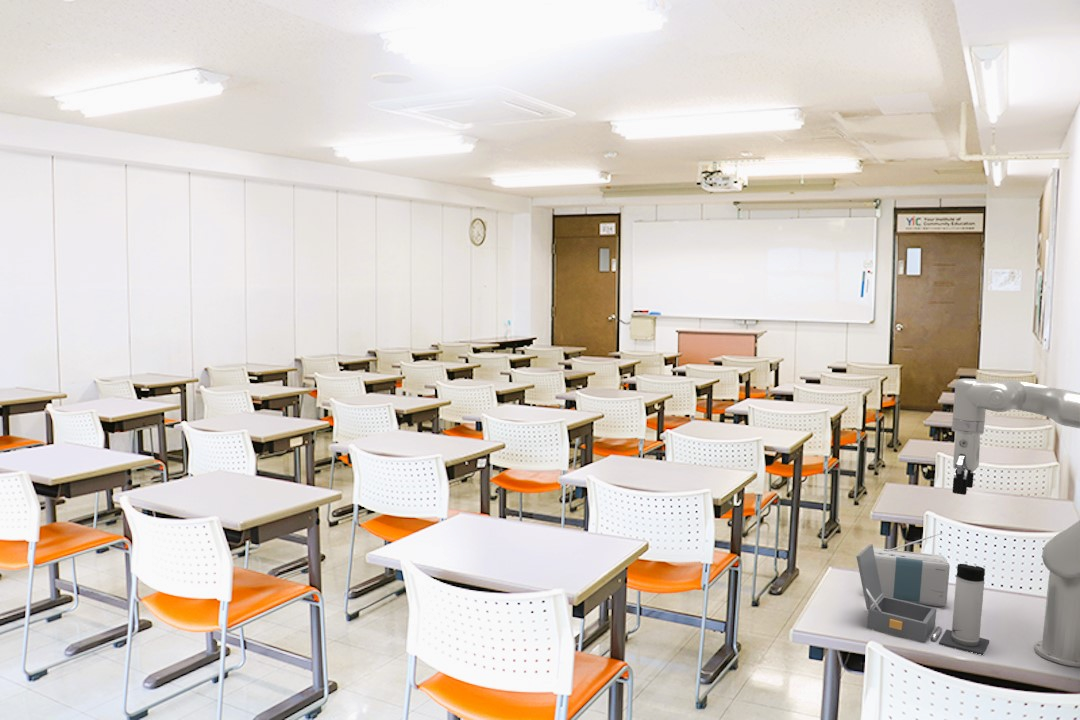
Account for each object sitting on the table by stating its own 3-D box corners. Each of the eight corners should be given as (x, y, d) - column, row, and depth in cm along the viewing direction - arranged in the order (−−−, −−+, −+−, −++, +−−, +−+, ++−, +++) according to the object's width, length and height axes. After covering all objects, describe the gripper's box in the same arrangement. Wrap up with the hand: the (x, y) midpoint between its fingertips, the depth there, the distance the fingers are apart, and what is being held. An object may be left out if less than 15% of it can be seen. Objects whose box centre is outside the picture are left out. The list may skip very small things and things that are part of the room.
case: (935, 626, 224) (940, 558, 222) (924, 643, 212) (929, 571, 211) (864, 609, 234) (869, 543, 232) (850, 624, 223) (855, 556, 221)
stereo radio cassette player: (866, 599, 242) (871, 531, 240) (864, 589, 249) (869, 523, 247) (946, 610, 236) (952, 540, 234) (941, 599, 243) (947, 531, 241)
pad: (989, 642, 215) (989, 639, 215) (983, 655, 207) (983, 653, 207) (946, 631, 221) (946, 629, 220) (938, 644, 212) (938, 642, 212)
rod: (942, 631, 221) (942, 626, 221) (935, 642, 214) (936, 637, 214) (937, 629, 221) (937, 625, 221) (930, 640, 214) (930, 636, 214)
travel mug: (950, 643, 212) (956, 566, 210) (952, 634, 217) (958, 558, 215) (978, 649, 209) (985, 571, 207) (979, 639, 214) (985, 563, 212)
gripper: (978, 432, 212) (972, 499, 213) (989, 423, 226) (983, 486, 227) (946, 428, 216) (940, 494, 218) (958, 420, 230) (953, 482, 232)
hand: (962, 490), depth 223 cm, fingers open, 9 cm apart
